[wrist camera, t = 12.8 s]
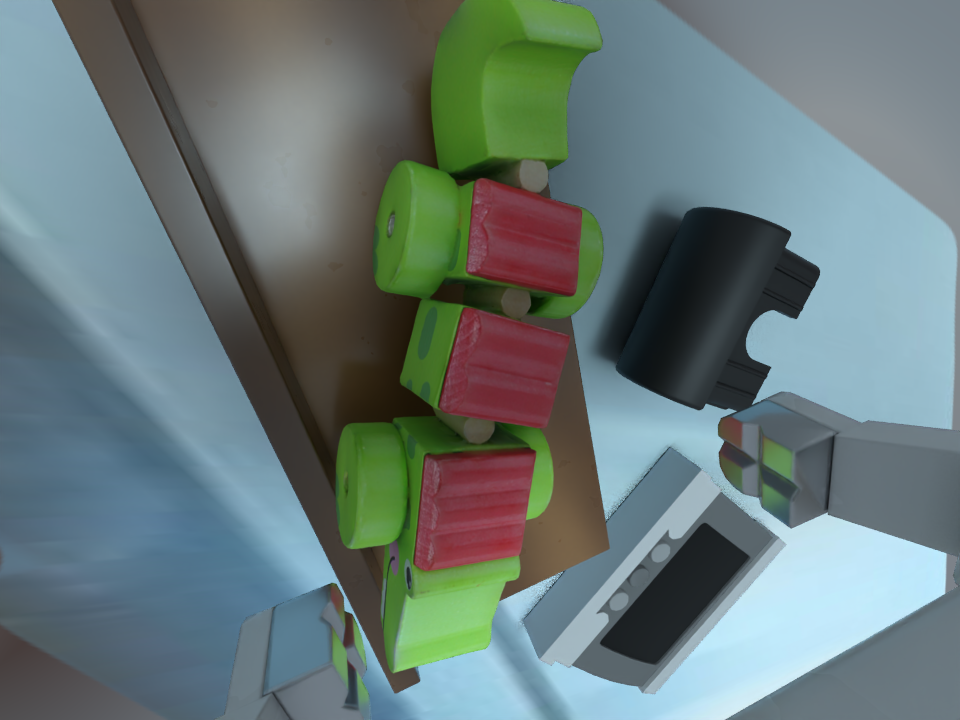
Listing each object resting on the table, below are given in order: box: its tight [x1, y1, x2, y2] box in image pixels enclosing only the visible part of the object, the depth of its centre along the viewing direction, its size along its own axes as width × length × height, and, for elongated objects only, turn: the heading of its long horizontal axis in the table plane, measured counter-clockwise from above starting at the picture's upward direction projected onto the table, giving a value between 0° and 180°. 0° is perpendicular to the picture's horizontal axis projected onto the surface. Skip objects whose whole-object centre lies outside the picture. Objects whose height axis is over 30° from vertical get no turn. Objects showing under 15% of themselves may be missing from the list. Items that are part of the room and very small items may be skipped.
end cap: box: [616, 207, 820, 411], centre depth 27 cm, size 10×7×7 cm
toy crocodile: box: [336, 0, 603, 673], centre depth 14 cm, size 20×7×6 cm, turn 167°
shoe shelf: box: [52, 0, 610, 693], centre depth 21 cm, size 12×26×10 cm, turn 14°
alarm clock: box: [523, 447, 786, 694], centre depth 37 cm, size 17×5×16 cm
